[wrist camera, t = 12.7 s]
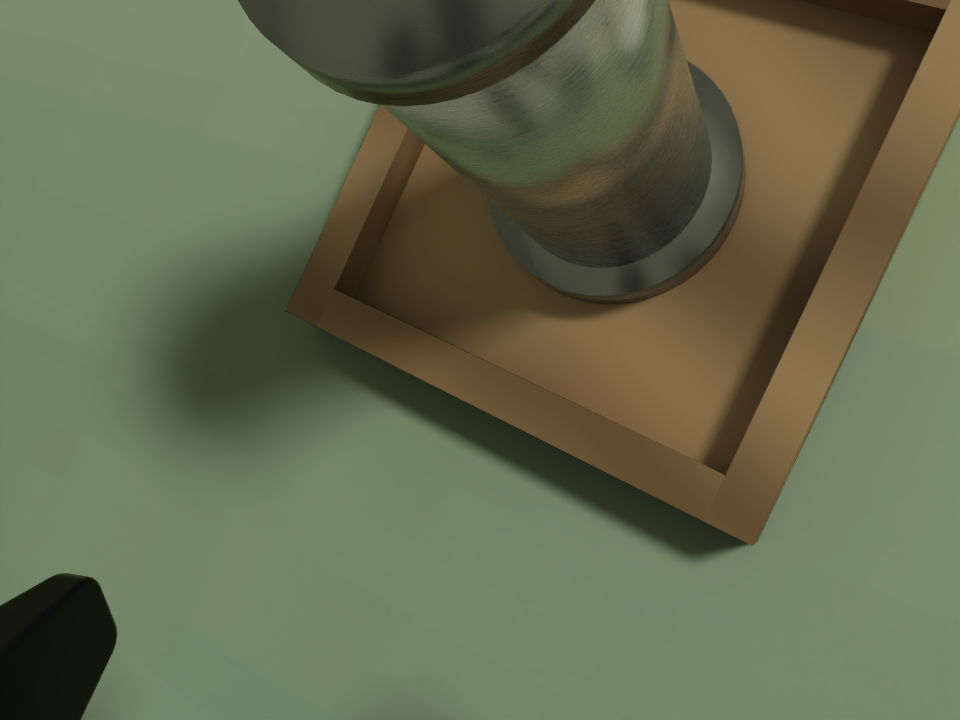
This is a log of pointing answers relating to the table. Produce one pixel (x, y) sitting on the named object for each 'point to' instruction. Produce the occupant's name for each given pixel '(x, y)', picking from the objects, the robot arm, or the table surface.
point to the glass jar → (547, 124)
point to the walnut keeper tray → (698, 301)
